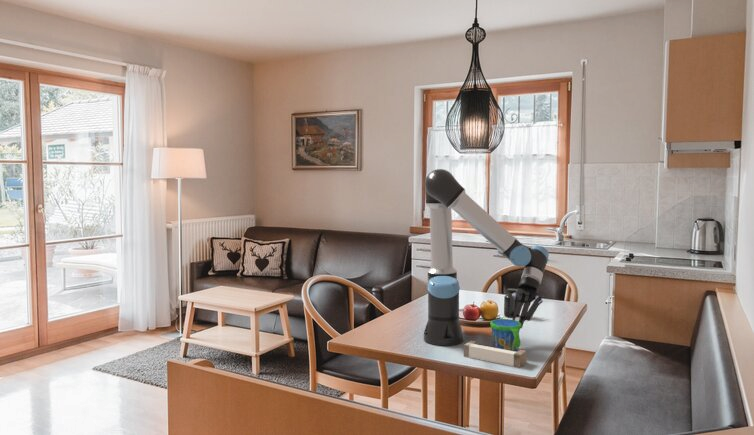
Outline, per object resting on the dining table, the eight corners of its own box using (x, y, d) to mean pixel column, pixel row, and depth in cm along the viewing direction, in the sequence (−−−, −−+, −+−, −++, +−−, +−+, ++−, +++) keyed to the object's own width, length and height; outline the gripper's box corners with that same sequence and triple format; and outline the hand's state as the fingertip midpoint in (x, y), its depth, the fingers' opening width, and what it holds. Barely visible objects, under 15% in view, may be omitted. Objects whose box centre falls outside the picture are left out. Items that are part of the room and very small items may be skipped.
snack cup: (529, 356, 189) (529, 327, 188) (500, 358, 187) (500, 329, 186) (509, 343, 204) (510, 316, 203) (483, 345, 202) (483, 317, 201)
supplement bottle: (520, 318, 239) (520, 291, 238) (504, 317, 241) (504, 290, 240) (519, 314, 246) (519, 288, 245) (503, 313, 247) (503, 287, 246)
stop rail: (463, 356, 190) (463, 344, 189) (471, 351, 195) (471, 340, 194) (519, 367, 178) (519, 355, 178) (526, 362, 183) (526, 350, 183)
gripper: (549, 289, 210) (533, 342, 198) (516, 285, 218) (499, 337, 205) (545, 277, 206) (528, 332, 193) (511, 274, 213) (494, 326, 201)
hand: (513, 334), depth 199 cm, fingers closed
